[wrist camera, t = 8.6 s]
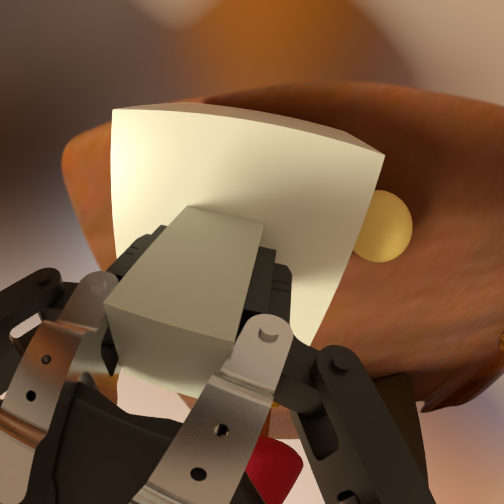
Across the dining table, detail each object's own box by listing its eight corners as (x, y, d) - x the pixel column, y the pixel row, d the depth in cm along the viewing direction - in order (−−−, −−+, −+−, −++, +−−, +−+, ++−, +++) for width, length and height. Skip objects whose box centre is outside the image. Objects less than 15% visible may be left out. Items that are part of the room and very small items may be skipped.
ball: (407, 191, 18) (434, 218, 14) (385, 246, 21) (404, 282, 17) (349, 173, 18) (366, 195, 14) (331, 233, 21) (340, 268, 17)
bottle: (409, 368, 29) (432, 545, 7) (399, 415, 36) (409, 539, 15) (351, 382, 31) (353, 563, 10) (356, 424, 38) (356, 550, 17)
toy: (171, 334, 30) (82, 568, 5) (251, 310, 26) (179, 629, 1) (273, 426, 40) (251, 576, 15) (333, 416, 37) (324, 582, 11)
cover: (344, 131, 16) (478, 227, 3) (305, 264, 22) (302, 453, 9) (187, 102, 16) (-9, 142, 4) (176, 235, 22) (72, 384, 9)
